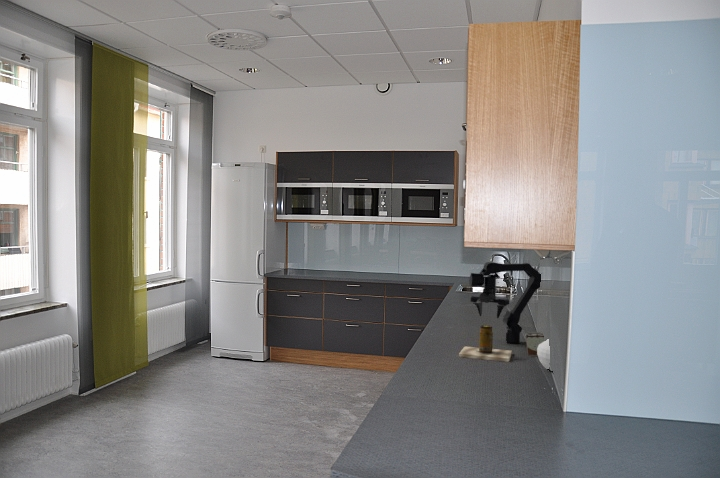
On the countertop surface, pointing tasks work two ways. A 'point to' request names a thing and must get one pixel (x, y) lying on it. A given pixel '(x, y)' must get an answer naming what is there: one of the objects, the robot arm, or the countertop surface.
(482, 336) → the condiment
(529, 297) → the robot arm
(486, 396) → the countertop surface
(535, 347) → the food container
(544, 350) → the vase
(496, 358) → the birch board
